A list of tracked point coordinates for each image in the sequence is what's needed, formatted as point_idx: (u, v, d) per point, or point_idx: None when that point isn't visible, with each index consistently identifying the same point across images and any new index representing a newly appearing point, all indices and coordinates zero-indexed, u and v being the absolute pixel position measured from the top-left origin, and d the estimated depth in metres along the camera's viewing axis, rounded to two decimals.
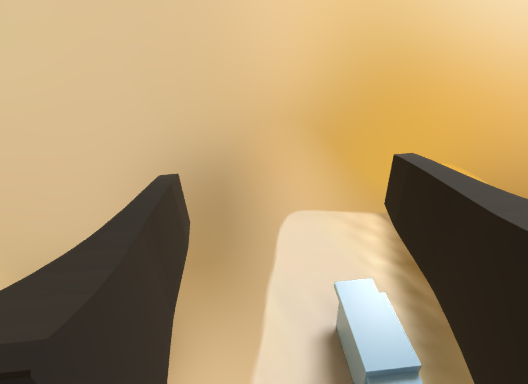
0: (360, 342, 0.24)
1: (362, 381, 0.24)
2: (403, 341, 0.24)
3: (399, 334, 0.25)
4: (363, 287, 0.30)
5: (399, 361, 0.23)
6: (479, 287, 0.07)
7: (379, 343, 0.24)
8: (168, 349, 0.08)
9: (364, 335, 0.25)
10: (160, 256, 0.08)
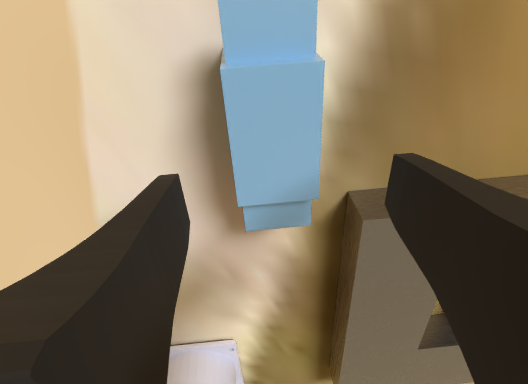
0: (240, 167, 0.15)
1: None
2: (310, 167, 0.15)
3: (309, 155, 0.15)
4: (285, 24, 0.12)
5: (290, 194, 0.16)
6: (479, 287, 0.07)
7: (270, 169, 0.15)
8: (168, 349, 0.08)
9: (250, 156, 0.14)
10: (160, 256, 0.08)
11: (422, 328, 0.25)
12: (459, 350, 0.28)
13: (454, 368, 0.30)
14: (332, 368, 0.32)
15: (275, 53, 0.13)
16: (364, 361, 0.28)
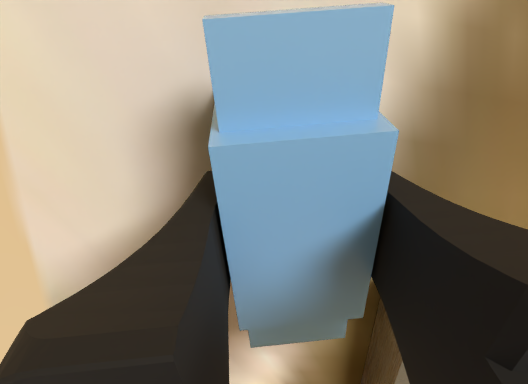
0: (244, 284, 0.09)
1: None
2: (355, 280, 0.09)
3: (355, 266, 0.09)
4: (329, 65, 0.07)
5: (320, 313, 0.10)
6: (412, 294, 0.07)
7: (292, 285, 0.09)
8: (227, 343, 0.08)
9: (260, 270, 0.09)
10: (220, 250, 0.08)
11: None
12: None
13: None
14: None
15: (307, 113, 0.07)
16: None
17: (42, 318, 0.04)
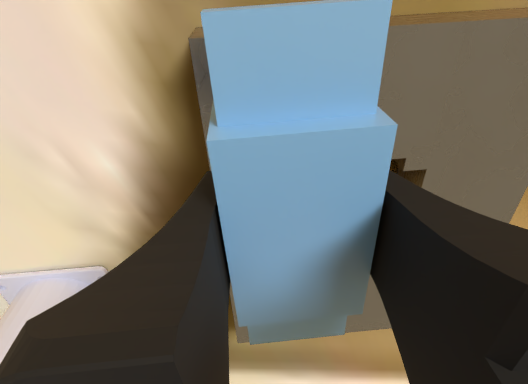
0: (243, 280, 0.09)
1: None
2: (354, 276, 0.09)
3: (355, 262, 0.09)
4: (327, 58, 0.07)
5: (319, 309, 0.10)
6: (412, 294, 0.07)
7: (291, 281, 0.09)
8: (227, 343, 0.08)
9: (259, 265, 0.09)
10: (220, 250, 0.08)
11: None
12: None
13: (376, 304, 0.24)
14: None
15: (306, 107, 0.07)
16: None
17: (42, 318, 0.04)
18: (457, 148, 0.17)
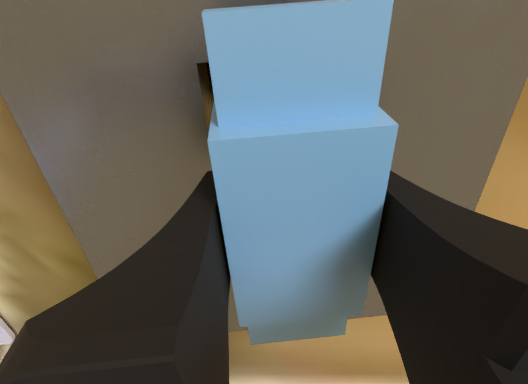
0: (243, 280, 0.09)
1: None
2: (355, 276, 0.09)
3: (355, 262, 0.09)
4: (329, 59, 0.07)
5: (320, 310, 0.10)
6: (412, 294, 0.07)
7: (292, 281, 0.09)
8: (227, 343, 0.08)
9: (260, 266, 0.09)
10: (220, 250, 0.08)
11: None
12: None
13: None
14: None
15: (307, 107, 0.07)
16: None
17: (42, 318, 0.04)
18: (402, 7, 0.10)
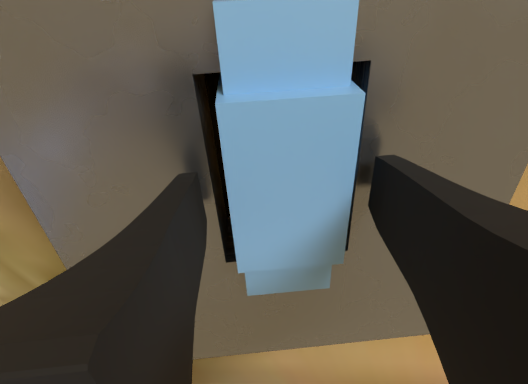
0: (242, 228, 0.11)
1: None
2: (335, 227, 0.11)
3: (335, 213, 0.11)
4: (310, 40, 0.08)
5: (306, 258, 0.12)
6: (453, 290, 0.07)
7: (282, 230, 0.11)
8: (192, 347, 0.08)
9: (256, 215, 0.11)
10: (184, 254, 0.08)
11: (207, 204, 0.12)
12: None
13: (321, 309, 0.16)
14: None
15: (294, 80, 0.09)
16: None
17: None
18: (426, 11, 0.09)
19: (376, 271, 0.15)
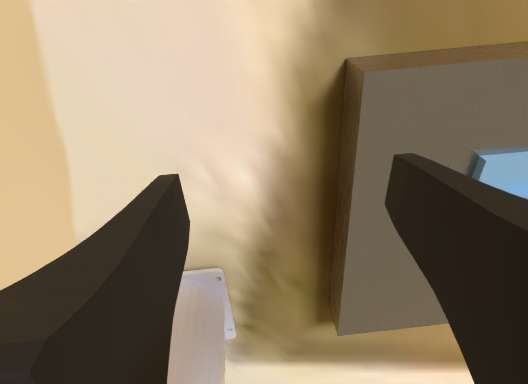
0: None
1: None
2: None
3: None
4: (521, 172, 0.19)
5: None
6: (479, 287, 0.07)
7: None
8: (168, 349, 0.08)
9: None
10: (160, 256, 0.08)
11: None
12: None
13: None
14: (332, 305, 0.29)
15: (507, 187, 0.19)
16: (368, 286, 0.24)
17: None
18: None
19: None
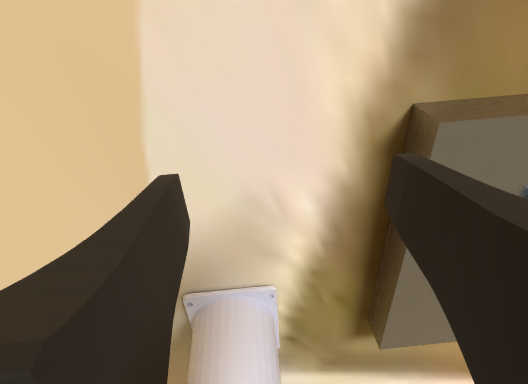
0: None
1: None
2: None
3: None
4: None
5: None
6: (479, 287, 0.07)
7: None
8: (168, 349, 0.08)
9: None
10: (160, 256, 0.08)
11: None
12: None
13: None
14: (374, 320, 0.30)
15: None
16: (414, 305, 0.26)
17: None
18: None
19: None
